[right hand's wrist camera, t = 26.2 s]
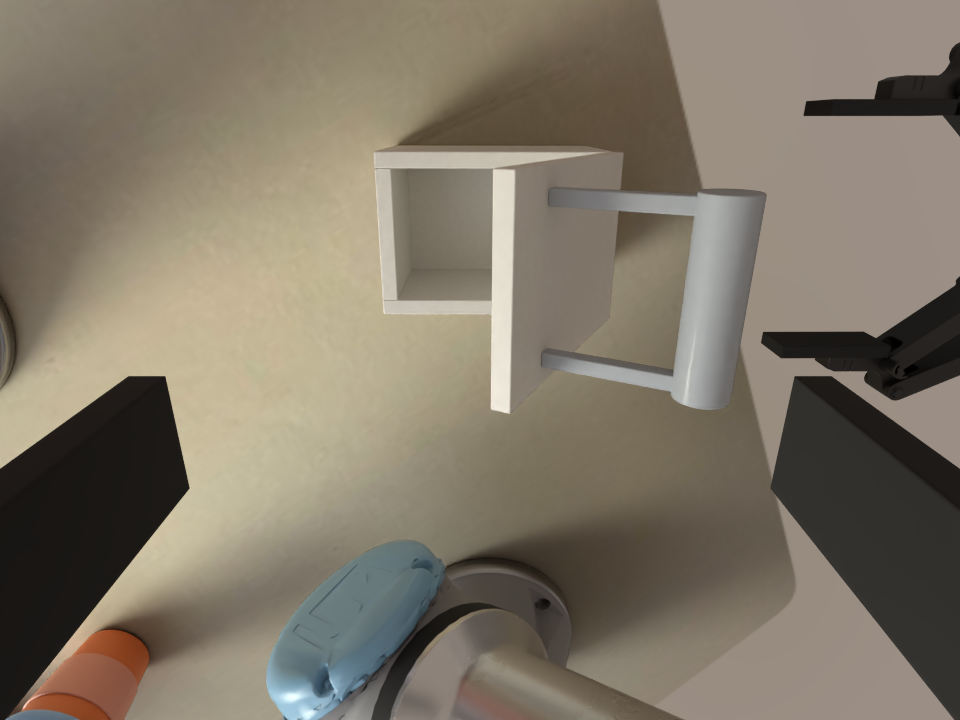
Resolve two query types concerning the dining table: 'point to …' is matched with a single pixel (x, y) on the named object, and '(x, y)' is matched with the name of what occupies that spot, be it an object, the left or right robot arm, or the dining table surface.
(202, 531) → the dining table surface
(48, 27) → the dining table surface
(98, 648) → the cup with straw
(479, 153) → the chest
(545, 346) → the lid
